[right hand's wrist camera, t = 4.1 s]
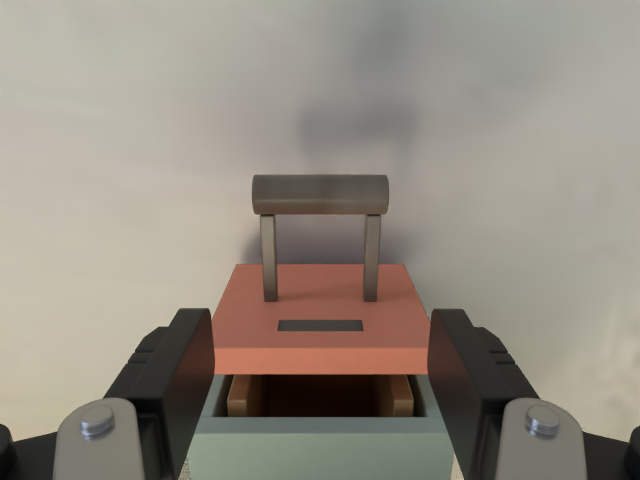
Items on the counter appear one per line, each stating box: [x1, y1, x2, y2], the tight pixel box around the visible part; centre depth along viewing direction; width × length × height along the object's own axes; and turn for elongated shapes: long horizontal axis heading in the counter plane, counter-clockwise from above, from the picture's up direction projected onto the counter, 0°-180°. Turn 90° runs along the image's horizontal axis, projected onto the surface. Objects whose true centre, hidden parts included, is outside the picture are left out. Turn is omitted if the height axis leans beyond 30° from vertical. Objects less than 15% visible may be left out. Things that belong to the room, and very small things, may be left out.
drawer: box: [211, 175, 431, 417], centre depth 21 cm, size 18×9×8 cm, turn 0°
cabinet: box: [187, 374, 454, 480], centre depth 23 cm, size 13×10×10 cm
